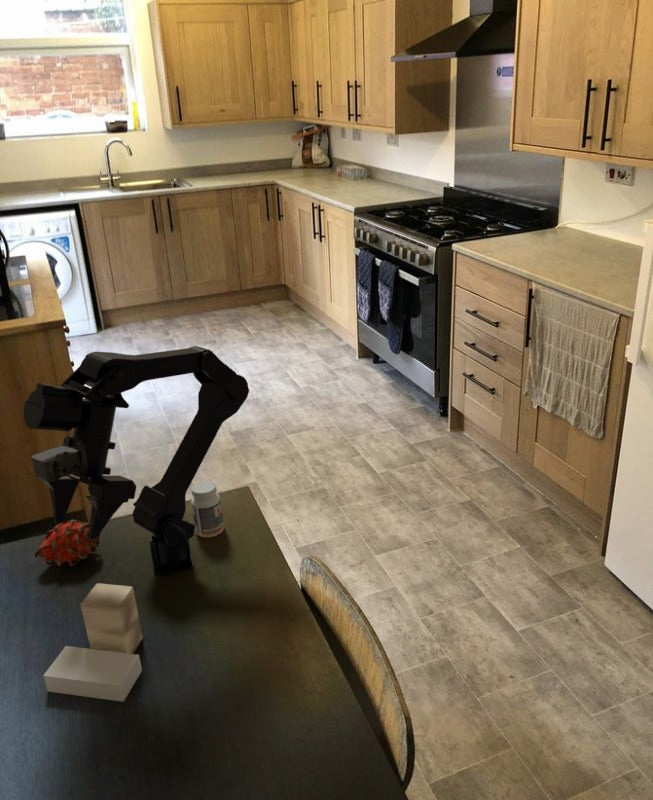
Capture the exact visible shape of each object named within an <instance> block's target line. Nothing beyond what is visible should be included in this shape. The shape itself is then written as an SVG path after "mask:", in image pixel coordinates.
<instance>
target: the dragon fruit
mask: <svg viewBox="0 0 653 800" xmlns="http://www.w3.org/2000/svg"><path fill="white" fill-rule="evenodd" d="M89 528H90V522H89V523H88V522H86V521H83V522H81V520H79V519H78V520H77V519H71V520H67V521H65V523H64V522H61V523H57V524H56V525H55V526H54V527H53V529H50V530H47V531H46V535H45V538H44V540H43V541H42V543H40V546H39V547H38V549H37V550H36V552H35V554H34V557H35V558H37V559H38V557H40V558H41V559H44V560H43V563H44V564H46V565H49V566H57V567H60V566H61V565H62V564H63V563H66V562H68V564H69V566H70V567H74V566H75V565H76V564H78V563H79V562H80V560H82V561H84V560H86V559H87V558H88V556H89V554H90V553H91V554H92V553H96V552H97V551H98V549H97V548H98V547H99V545H100V537H101V533H100V534H99V535H98V537H97V538H96V539H90V538H89Z"/></svg>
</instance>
